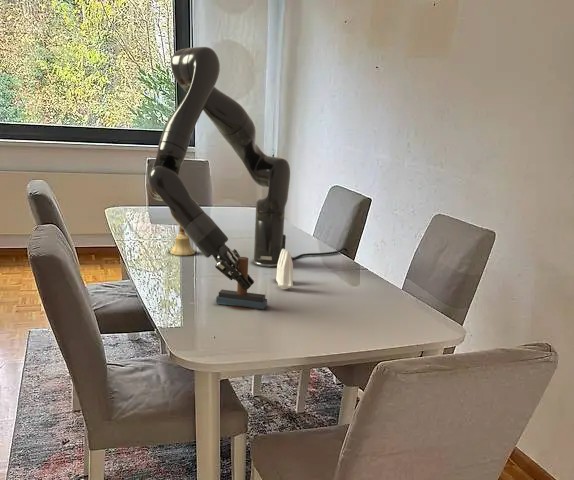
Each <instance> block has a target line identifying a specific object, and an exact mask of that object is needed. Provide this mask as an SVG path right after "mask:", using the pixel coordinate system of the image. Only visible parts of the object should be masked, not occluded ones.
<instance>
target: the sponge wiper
mask: <svg viewBox="0 0 574 480" xmlns="http://www.w3.org/2000/svg"><path fill="white" fill-rule="evenodd" d="M238 269H239V270H240V272H241V273H242V274H243V275H244V277H245V278H246V279H247V280H248V275H249V257H247V256H240V257H239V258H238ZM236 287H237V288H236V290H230V289H221V290H220V291H219V292H218V295H216V298H215V299H216V300H215V302H216V305H217V304H218V305H223V306H227V305H230V306H238V307H246V308H254V309H253V310H265V308H266V307H267V306H268V298H266V294H262V293H255V292H248V289H247V290H244V289H243V288H242V287H241V286H240V284H239V283H238V282H237V286H236Z"/></svg>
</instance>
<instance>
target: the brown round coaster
mask: <svg viewBox="0 0 574 480" xmlns="http://www.w3.org/2000/svg"><path fill="white" fill-rule="evenodd" d="M226 306H227V307H229V308H232V309H236V310H243V311H245V310H248V311H249V310H255V309H254V308H246V307H238V306H230V305H226Z"/></svg>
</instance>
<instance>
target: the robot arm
mask: <svg viewBox="0 0 574 480" xmlns="http://www.w3.org/2000/svg"><path fill="white" fill-rule="evenodd" d="M170 67H171V72H172V75H173V78H174V79H175V81H176V82H177V84H178V85H179V86H180V88H182V90H183V91H184V92H186V94H185V96H184V98H183V99H182V100H181V101H180V103H179V104H178V106H177V107H176V108H175V110H174V111H173V112H172V113H171V115H170V116H169V117H168V119H167V121H166V122H165V125H164V127H163V130H162V133H161V136H160V139H159V143H158V146H157V150H156V156H155V160H154V162H153V165H152V168H151V170H150V172H149V174H148V178H147V181H146V189H147V192H148V194H149V196H150V197H151V198H152V199H154V200H156V201H159V202H164V203H165V205H166V206H167V207H168V209H169V210H170V214H171V216H172V218H173V219H174V220H175V222H176V223H177V224H178V225H179V227H180V226H181V227H182V229H184V231H185V235H186V236H188V237H189V240H190V241H191V242H192V243H193V244H194V245H195V246H196V247H197V249H198V250H199V251H200V252H201V253H202V255H203V256H204V257H205V258H210V257H211V256H212V257H213V259H214V261H216V264H215V265H214V267H215V269H216V270H218V271H219V272H220V273H222V274H223V275H224V276H225V277H226V278H228V280H230V281H236V282H237V283H239V284H240V286H241V287H242V288H243V289H244V290H247V291H248V289H249V290H250V288H252V285H253V284H254V283H255V280H254V279H253V278H252V277H251V276H250V274H248V280H247V279H246V278H245V277H244V275H243V274H242V273H241V272H240V270H239V269H238V258H239V257H241V256H240V254H239V252H238V251H237V249H236V248H234V249H233V250H232V249H231V248H229V246H227V244H226V243H227V242H228V241H229V237H228V236H227V235H226V234H225V233H224V232H223V230H222V229H221V228H220V227H219V226H218V224H217V223H216V222H215V221H214V220H213V219H212V217H210V215H208V214H207V213H206V212H205V211H204V209H203V208H202V207H201V206H200V205H199V203H198V202H197V201H196V200H195V199H194V198H193V197H192V196H191V194H190V192H189V190H188V188H187V187H186V185H185V184H184V182H183V180H182V179H181V178H180V177H179V174H180V170H181V167H182V165H183V163H184V161H185V158H186V155H187V152H188V149H189V145H190V143H191V139H192V136H193V133H194V130H195V128H196V125H197V123H198V121H199V118H200V116H201V114H202V113H203V112H204V113H205V116H207V118H208V119H209V120H210V121H211V122H212V123H213V125H214V127H216V129H217V130H218V132H219V133H220V134H221V136H222V137H223V138H224V140H225V141H226V142H227V143H228V145H229V146H230V147H231V148H232V150H233V151H234V153H235V154H236V155H237V156H238V157H239V159H240V160H241V162H242V163H243V165H244V167H245V168H246V169H247V172H248V173H249V176H250V177H251V179H252V180H253V181H254V183H255V184H256V185H258V186H260V187H262V188H267V189H268V190H267V191H268V192H267V195H266V196H265V197H263V198H262V197H261V198H259V199H257V200H256V202H255V217H254V218H255V220H254V221H255V222H254V241H253V242H254V244H253V261H252V262H253V264H254V265H256V266H260V267H266V268H267V267H268V268H273V267H277V264H278V260H279V257H280V253H281V251H282V249H285V250H286V241H287V240H286V239H287V236H286V234H284V229H285V214H286V213H285V211H286V205H287V202H288V200H289V191H290V183H291V182H290V181H291V166H290V164H289V161H288V160H287V159H285V158H282V157H277V156H270V155H266V153H264V151H262V150H261V148H260V147H259V145H258V144H257V142H256V139H257V131H256V126H255V123H254V121H253V120H252V118H251V117H250V115H249V113H247V111H246V109H245V108H244V107H243V106H242V105H241V104H240V103H239V102H238V101H237V100H235V99H234V98H232V97H231V96H229V95H227V94H226V93H225V92H222V91H221V90H220V89H218V88H217V87H216V84H217V82H218V79H219V76H220V72H221V71H220V70H221V64H220V59H219V56H218V54H217V53H216V52H215V50H214V49H213V48H211V47H208V46H196V47H195V46H194V47H186V48H182V49H178V50H176V51H175V52H174V53H173V55H172V56H171V60H170ZM342 251H345V252H349V251H348V249H347V248H346V247H341V248H340V249H338V250H334V251H327V252H326V251H325V252H310V253H301V254H299V255H296V256H295V257H292V256H291V258H292V261H293V260H297V259H299V258H301V257H307V256H325V255H334V254H339V253H341V252H342Z"/></svg>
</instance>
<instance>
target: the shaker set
mask: <svg viewBox="0 0 574 480" xmlns="http://www.w3.org/2000/svg"><path fill="white" fill-rule="evenodd" d="M291 257H292V255H291V252H290V251H289V250H287V249H286V248H285V249H282V251H281V253H280V257H279V260H278V264H277V266H276V278H275V280H276V282H277V286H278V287H279V288H280V289H282V290H288V289H291V288H292V287H293V286H294V280H293V279H294V263H293V260H292V258H291Z"/></svg>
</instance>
